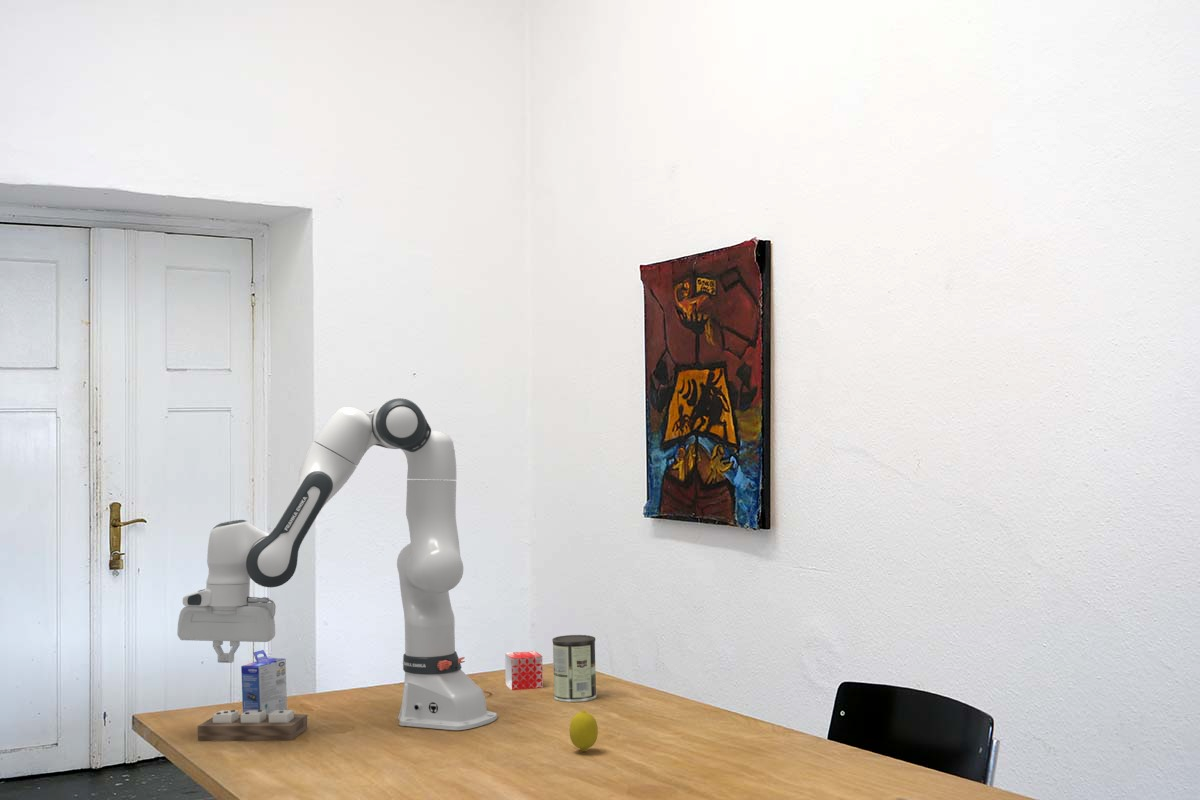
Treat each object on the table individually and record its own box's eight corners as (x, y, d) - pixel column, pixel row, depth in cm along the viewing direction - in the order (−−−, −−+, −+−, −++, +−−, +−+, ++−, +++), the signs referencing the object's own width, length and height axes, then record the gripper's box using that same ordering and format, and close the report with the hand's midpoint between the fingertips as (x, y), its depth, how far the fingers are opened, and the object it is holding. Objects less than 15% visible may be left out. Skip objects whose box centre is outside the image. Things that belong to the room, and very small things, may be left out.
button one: (293, 721, 238) (293, 709, 238) (287, 726, 234) (287, 713, 234) (275, 721, 239) (275, 709, 239) (268, 726, 235) (268, 713, 235)
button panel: (307, 728, 241) (307, 714, 241) (292, 740, 231) (292, 725, 231) (216, 728, 242) (216, 714, 242) (197, 740, 232) (197, 726, 232)
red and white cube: (542, 688, 278) (542, 656, 279) (511, 690, 276) (511, 658, 277) (535, 682, 286) (535, 650, 286) (505, 684, 284) (505, 652, 284)
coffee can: (573, 691, 274) (572, 633, 274) (605, 696, 267) (604, 637, 268) (544, 698, 266) (543, 639, 267) (576, 704, 259) (575, 643, 260)
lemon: (601, 749, 220) (601, 707, 220) (592, 756, 215) (591, 714, 215) (575, 747, 222) (574, 706, 222) (565, 754, 216) (564, 712, 217)
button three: (238, 721, 239) (238, 709, 239) (231, 726, 235) (231, 713, 235) (220, 721, 239) (220, 709, 239) (212, 726, 235) (212, 713, 235)
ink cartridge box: (268, 710, 260) (268, 647, 260) (288, 711, 258) (287, 648, 258) (240, 719, 250) (240, 654, 251) (260, 721, 248) (260, 655, 249)
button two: (266, 721, 239) (266, 709, 239) (259, 726, 235) (259, 713, 235) (247, 721, 239) (247, 709, 239) (240, 726, 235) (240, 713, 235)
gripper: (280, 595, 241) (278, 660, 240) (187, 594, 242) (185, 658, 241) (270, 599, 234) (268, 665, 234) (175, 597, 236) (172, 663, 235)
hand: (225, 662), depth 237 cm, fingers closed
